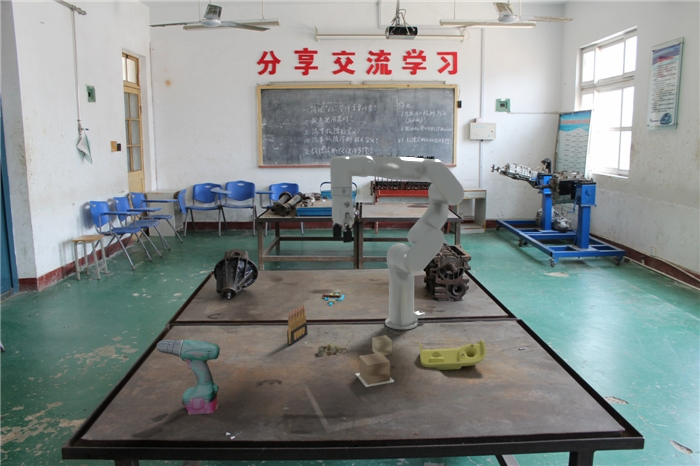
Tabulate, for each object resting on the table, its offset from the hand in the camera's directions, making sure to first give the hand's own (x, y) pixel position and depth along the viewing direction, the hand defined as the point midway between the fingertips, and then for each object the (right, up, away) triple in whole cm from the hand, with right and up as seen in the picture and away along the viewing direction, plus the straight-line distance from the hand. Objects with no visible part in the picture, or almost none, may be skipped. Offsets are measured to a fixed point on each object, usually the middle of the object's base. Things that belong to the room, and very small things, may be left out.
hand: (342, 239), depth 187 cm
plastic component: (+35, -40, -20) cm, 57 cm away
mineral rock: (-3, -39, -11) cm, 40 cm away
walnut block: (+10, -41, -30) cm, 52 cm away
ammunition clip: (-16, -36, +3) cm, 40 cm away
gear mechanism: (-5, -28, +49) cm, 57 cm away
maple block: (+13, -39, -12) cm, 43 cm away
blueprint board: (+10, -42, -29) cm, 52 cm away
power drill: (-40, -46, -44) cm, 75 cm away
